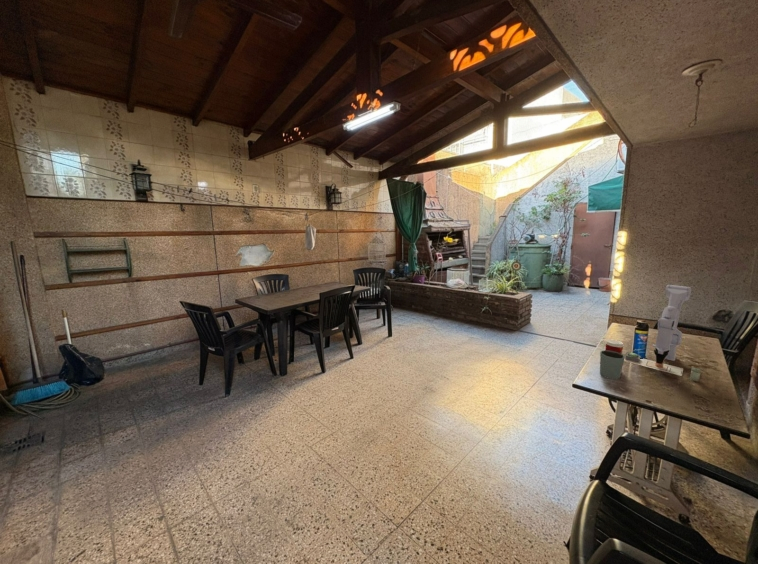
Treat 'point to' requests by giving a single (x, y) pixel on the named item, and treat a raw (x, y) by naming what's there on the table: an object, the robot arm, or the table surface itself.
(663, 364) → the brown rounded cylinder
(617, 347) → the coffee cup
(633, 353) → the button
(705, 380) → the table surface
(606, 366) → the green round bin
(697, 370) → the sage marker
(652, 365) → the white flat panel
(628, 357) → the button housing
